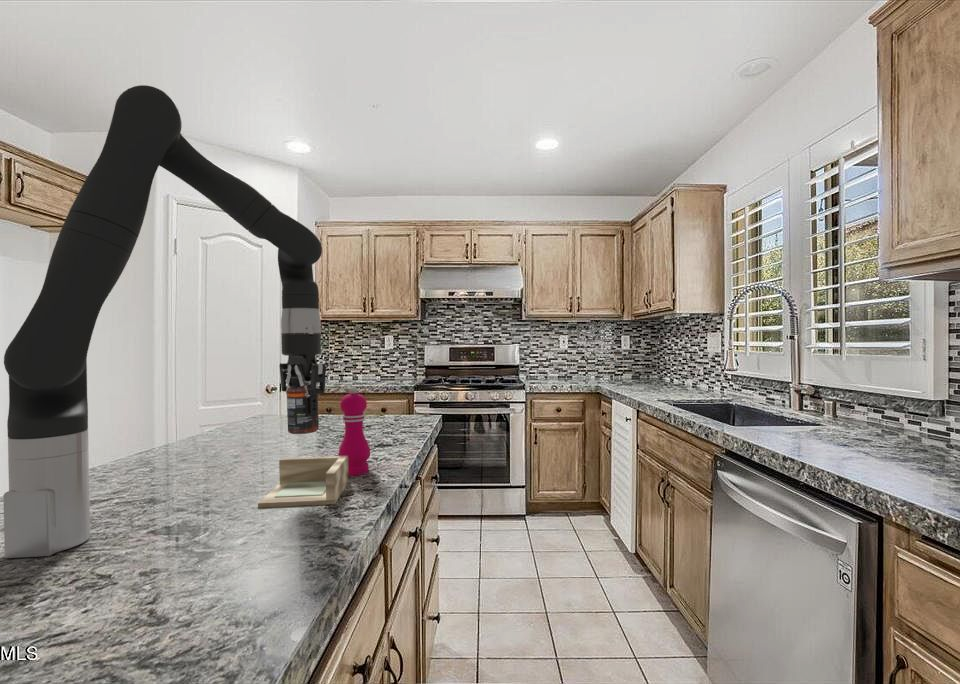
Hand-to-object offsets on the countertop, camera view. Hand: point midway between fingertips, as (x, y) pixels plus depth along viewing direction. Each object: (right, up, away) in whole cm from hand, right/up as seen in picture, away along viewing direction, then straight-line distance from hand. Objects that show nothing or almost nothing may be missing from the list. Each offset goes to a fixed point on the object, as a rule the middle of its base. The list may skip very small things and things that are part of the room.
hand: (302, 414), depth 97 cm
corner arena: (+1, -16, 0) cm, 16 cm away
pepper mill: (+7, -16, +15) cm, 23 cm away
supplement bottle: (0, -4, 0) cm, 4 cm away
